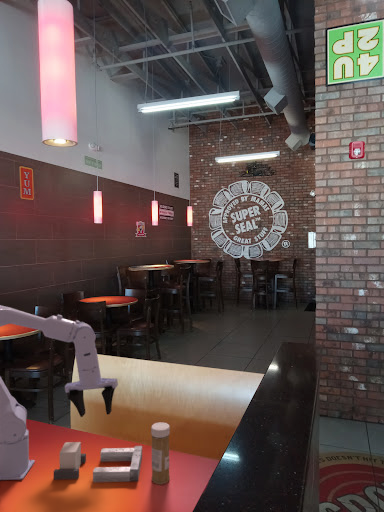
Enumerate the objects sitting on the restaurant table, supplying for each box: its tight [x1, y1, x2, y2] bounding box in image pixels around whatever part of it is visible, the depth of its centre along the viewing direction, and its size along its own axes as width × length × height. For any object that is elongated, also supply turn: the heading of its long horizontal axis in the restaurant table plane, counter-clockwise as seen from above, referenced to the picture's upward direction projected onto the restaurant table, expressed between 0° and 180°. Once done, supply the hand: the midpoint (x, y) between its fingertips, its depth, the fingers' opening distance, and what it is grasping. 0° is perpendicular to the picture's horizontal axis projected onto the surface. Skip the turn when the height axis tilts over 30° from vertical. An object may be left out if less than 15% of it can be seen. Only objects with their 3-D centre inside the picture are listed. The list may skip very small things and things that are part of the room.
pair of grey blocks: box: [53, 453, 87, 481], centre depth 96 cm, size 6×8×2 cm
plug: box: [59, 441, 82, 470], centre depth 96 cm, size 4×5×6 cm
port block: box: [92, 445, 143, 483], centre depth 96 cm, size 11×11×3 cm
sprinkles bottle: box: [150, 421, 171, 485], centre depth 92 cm, size 5×5×14 cm
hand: (96, 413), depth 103 cm, fingers open, 7 cm apart
